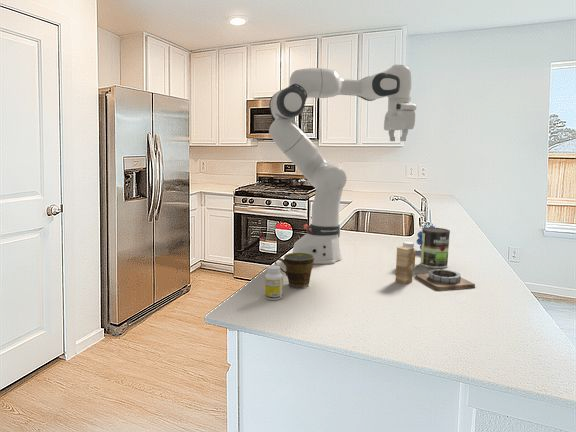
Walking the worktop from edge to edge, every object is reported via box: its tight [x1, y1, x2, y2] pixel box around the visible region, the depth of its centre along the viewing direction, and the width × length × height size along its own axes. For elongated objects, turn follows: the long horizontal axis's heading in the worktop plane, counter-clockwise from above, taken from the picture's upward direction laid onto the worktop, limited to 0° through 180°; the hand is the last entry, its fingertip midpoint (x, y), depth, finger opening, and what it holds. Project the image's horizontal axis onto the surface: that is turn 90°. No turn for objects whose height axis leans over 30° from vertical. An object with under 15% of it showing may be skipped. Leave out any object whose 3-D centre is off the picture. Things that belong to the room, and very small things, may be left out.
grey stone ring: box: [428, 268, 462, 284], centre depth 151 cm, size 10×10×2 cm
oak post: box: [395, 245, 415, 285], centre depth 151 cm, size 4×4×12 cm
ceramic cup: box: [274, 252, 314, 289], centre depth 146 cm, size 13×10×10 cm
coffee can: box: [419, 227, 451, 269], centre depth 172 cm, size 10×10×14 cm
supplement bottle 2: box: [402, 241, 416, 269], centre depth 169 cm, size 5×5×10 cm
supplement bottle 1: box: [264, 264, 284, 301], centre depth 135 cm, size 5×5×10 cm
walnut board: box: [414, 273, 476, 292], centre depth 151 cm, size 14×14×1 cm
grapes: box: [416, 225, 436, 250], centre depth 194 cm, size 12×7×12 cm, turn 44°
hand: (397, 141), depth 182 cm, fingers open, 8 cm apart
